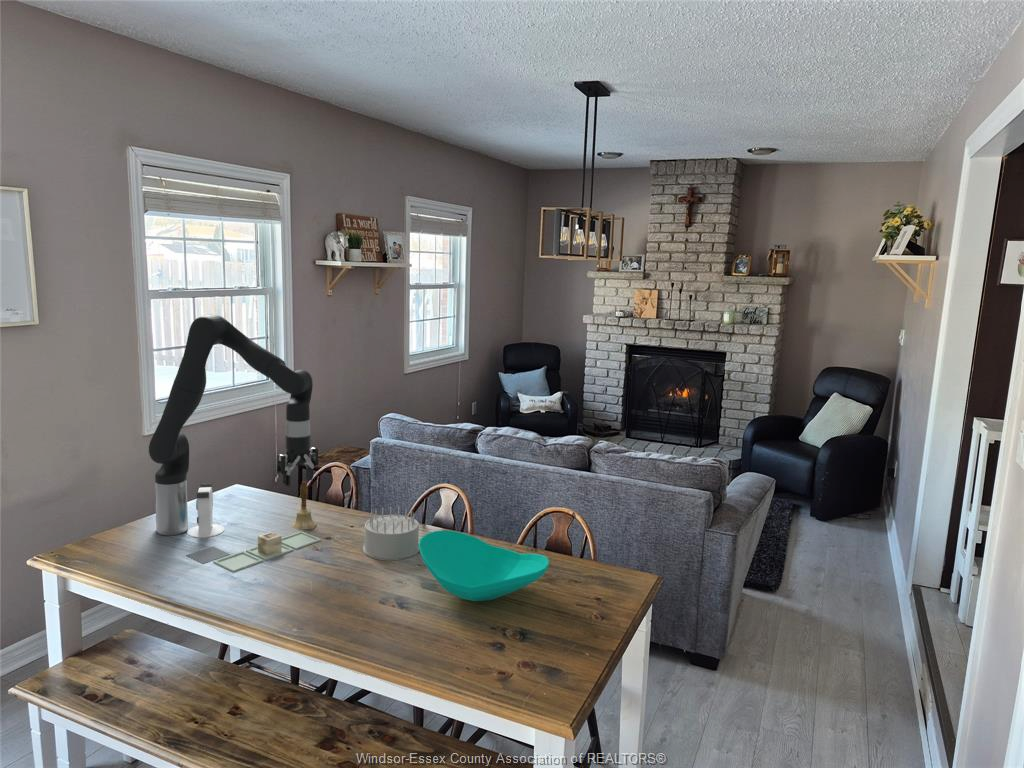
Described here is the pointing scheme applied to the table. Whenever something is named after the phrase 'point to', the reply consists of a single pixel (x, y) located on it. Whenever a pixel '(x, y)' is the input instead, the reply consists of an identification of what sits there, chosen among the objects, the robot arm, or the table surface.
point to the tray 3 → (299, 540)
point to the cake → (391, 536)
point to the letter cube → (269, 543)
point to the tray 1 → (238, 561)
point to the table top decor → (478, 566)
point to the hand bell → (304, 512)
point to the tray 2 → (266, 557)
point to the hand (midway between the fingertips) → (298, 482)
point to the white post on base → (205, 514)
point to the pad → (208, 555)
